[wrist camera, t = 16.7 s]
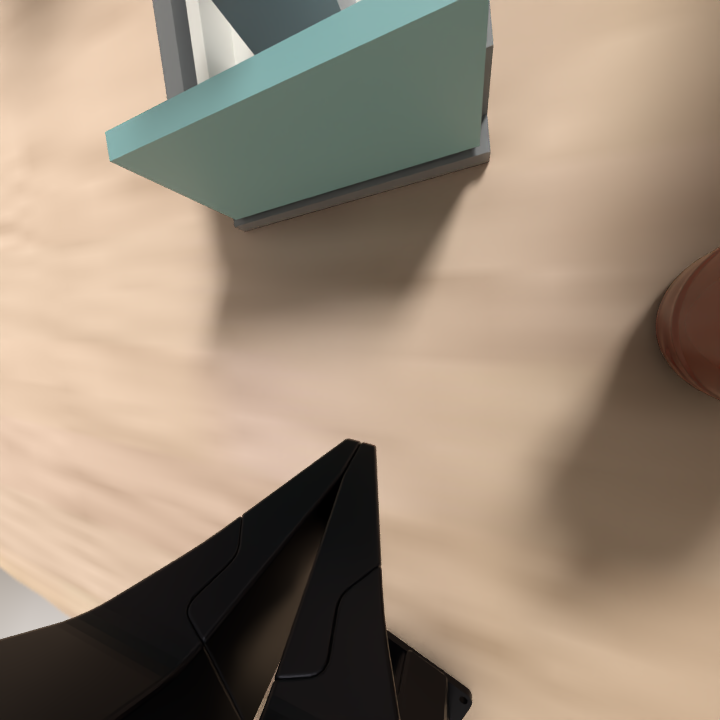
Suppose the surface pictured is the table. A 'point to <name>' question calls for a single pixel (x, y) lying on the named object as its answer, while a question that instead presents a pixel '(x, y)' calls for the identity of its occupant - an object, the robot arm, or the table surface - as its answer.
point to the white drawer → (314, 104)
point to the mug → (693, 324)
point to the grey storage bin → (183, 77)
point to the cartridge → (275, 18)
